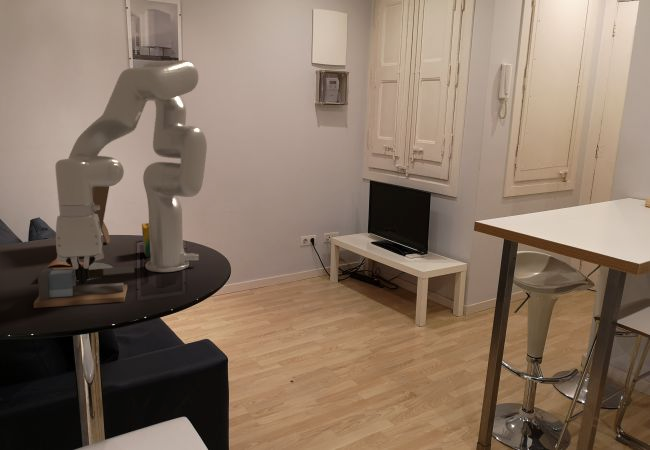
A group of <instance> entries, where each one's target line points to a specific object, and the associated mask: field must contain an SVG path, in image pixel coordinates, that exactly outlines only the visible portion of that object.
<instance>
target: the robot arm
mask: <svg viewBox="0 0 650 450" xmlns="http://www.w3.org/2000/svg"><path fill="white" fill-rule="evenodd" d="M198 83H199V71H198V69H197V68H196V66H195V65H194V63H192V62H191V61H188V60H154V61H148V62H147V63H144V65H143V66H142V67H130V68H127V69H124V70H122V72H121V73H120V75H119V76H118V78H117V81H116V84H115V85H114V88H113V91H112V92H111V95H110V97H109V99H108V103H106V107H105V109H104V111H103V113H102V115H101V116H99V117H98V118H97V119H96V120H95V121H94V122H91V124H90V125H89V126H88V127H87V128H86V129H85V130H84V131H82V133H81V134H80V135H79V136H78V138H77V139H76V140H75V142H74V145H73V147H72V149H71V151H70V154H69V156H68V158H63V159H59V160H57V161H56V163H55V179H56V190H57V197H58V198H57V200H58V208H59V215H58V216H57V218H56V225H55V248H56V254H57V255H56V259H57V261H58V262H66V263H68V264H69V265H71V266H72V267H73V268H74V269H75V282H76V281H78V285H87V282H88V280H90V279H91V278H90V277H89V270H90V269H89V268H90V266H91V265H92V264H93V263H94V262H96V261H99V260H102V259H104V258H105V253H104V250H103V249H104V241H103V239H104V238H103V234H102V232H101V226H100V221H99V217H98V215H97V214H94V212H95V211H97V210H100V205H95V204H94V202H93V195H92V188H93V187H109V188H110V187H113V186H115V185H117V184H119V183H120V182H121V181H122V179H123V177H124V173H125V171H124V166H123V165H122V163H121V162H120V161H119V160H118V159H116V158H114V157H112V156H105V155H99V154H100V152H101V151H102V150H103V149H104V148H105V147H106V146H107V145H109V144H110V143H112V142H113V141H116V140H118V139H121V138H123V137H125V136H127V135H129V134H131V133H133V132H134V131H135V130H136V128H137V126H138V123H139V121H140V119H141V116H142V113H143V112H144V108H145V107H146V104H147V102H148V101H149V102H150V101H153V102H154V104H155V119H154V120H155V121H154V127H153V128H154V129H153V130H154V131H153V138H152V149H153V151H154V153H155V154H156V155H157V156H159V157H161V158H168V159H180V163H179V162H172V161H171V162H170V161H169V162H168V161H167V162H166V161H155V162H152V163H150V164H149V165H148V166H146V167H145V169H144V171H143V177H142V178H143V186H144V190H145V194H146V198H147V205H148V206H147V207H148V223H149V233H150V255H151V257H150V260H148V261H147V262H146V263H145V269H146V270H148V271H150V272H156V273H172V272H178V271H183V270H184V269H187V268H189V265H190V261H199V260H200V259H199V258H200V255H199V253H195V252H190V253H187V252H185V249H184V240H183V238H184V237H183V236H184V234H183V232H184V230H183V208H182V204H181V202H180V200H179V198H178V197H183V198H192V197H196V196H197V195H198V194H199V193H200V191H201V189H202V187H203V183H204V175H205V168H206V158H207V157H206V156H207V151H208V150H207V138H206V136H205V133H204V132H203V131H202V129H201V128H199V127H197V126H192V125H186V122H187V121H186V119H187V108H186V104H185V102H184V100H183V99H182V97H181V96H182V95H185V94H188V93H190V92H193V90H195V89H196V87H197V85H198ZM81 257H83V263H84V264H83V266H81V264H80V262H81V261H80V259H79V258H81ZM79 261H80V262H79Z"/></svg>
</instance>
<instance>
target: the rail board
mask: <svg viewBox="0 0 650 450" xmlns="http://www.w3.org/2000/svg"><path fill="white" fill-rule="evenodd" d="M127 292H128V284H125V283H124V282H116V283H114V282H113V283H112V282H111V283H96V284H81V285H79V284H78V285H76V286H73V296H66V297H51V298H50V299H49V300H41V301H40V297H39V295H38V297H36V299H35V300H34V302H33V308H34V309H36V308H49V307H50V308H51V307H52V308H53V307H64V306H80V305H83V306H84V305H95V304H110V303H122V302H124V303H125V300H126V295H127Z"/></svg>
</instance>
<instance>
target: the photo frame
mask: <svg viewBox="0 0 650 450" xmlns="http://www.w3.org/2000/svg"><path fill="white" fill-rule="evenodd" d="M109 190H110V186H109V187H93V188H92V195H93V202H94V204H95V205H100V210H97V211H95V212H94V214H97V215H98V217H99V221H100V226H101V232H102V238H103V239H104V241H105V242H104V243H105V244H106V245H108V244H109V243H110V242H111V237H110V235H109V229H108V228H107V225H106V224H105V222H104V219H105V213H106V209H107V202H108V197H109Z"/></svg>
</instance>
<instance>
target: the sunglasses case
mask: <svg viewBox="0 0 650 450" xmlns="http://www.w3.org/2000/svg"><path fill="white" fill-rule="evenodd" d="M79 262H80V264H81V266H83V264H84V261H80V260H79ZM45 268H53V270H54V269H74V268H73V267H72V266H71V265H69V264H68V263H66V262H58V261H57V258H55V259H54V260H52V261H51V262H50V263H49V264H48V265H47V266H46V267H45ZM74 270H75V269H74Z"/></svg>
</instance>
